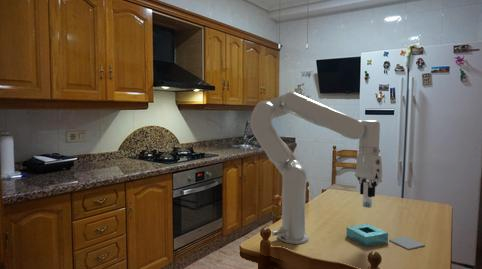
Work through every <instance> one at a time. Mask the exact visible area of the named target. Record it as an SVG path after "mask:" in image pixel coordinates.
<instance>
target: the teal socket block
mask: <svg viewBox="0 0 482 269" xmlns="http://www.w3.org/2000/svg"><path fill="white" fill-rule="evenodd" d="M345 236H346V238H348V239H351V240H353V241H354V242H356V243H357V244H359V245H361V246H363V247H365V248H369V247H373V246H378V245H382V244H388V243H389V232H387V231H385V230H383V229H380V228H378V227H376V226H374V225H371V224H369V223H364V224H363V223H362V224H357V225H352V226H346V235H345Z"/></svg>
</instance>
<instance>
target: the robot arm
mask: <svg viewBox="0 0 482 269" xmlns="http://www.w3.org/2000/svg"><path fill="white" fill-rule="evenodd" d="M288 114H291V115H293V116H296V117H297V118H299V119H302V120H305V122H309V123H311V124H313V125H316V126H318V127H321V128H326V129H327V130H330V131H332V132H335V133H337V134H340V135H341V137H344V138H347V139H350V140H358V153H357V157H356V166H355V173H354V176H355V177H356V178H357V180H358V183H359V185H360V186H359V187H360V188H359V195H363V182H364V181H369V187H368V197H372V198H374V197H376V188H377V186H378V185H379V184H382V183H383V180H382V178H383V163H382V156H381V154H380V153H381V149H380V136H381V135H380V133H381V128H380V127H381V123H380V122H379V121H378V120H375V119H374V120H372V119H367V120H363V119H362V120H358V119H357V118H356V119H355V118H354V117H352V116H350V115H347V114H345V113H342V112H340V111H337V110H336V109H333V108H331V107H328V106H327V105H324V104H322V103H320V102H318V101H315V100H313V99H311V98H308V97H307V96H304V95H302V94H299V93H298V92H294V91H289V92H286V93H285V94H282V95H280V96H277V97H274V98H271V99H270V98H269V99H267V100H261V101H259V102H258V103H257V104H256V105H255V106H254V108H253V111H252V112H251V116H250V128H251V132H252V134H253V136H254V137H255V139H256V141H257V143H259V146H260V147H261V148H262V149H263V151H264V152H265V154H266V156H267V158H268V159H269V161H270V162H271V163H272V164H273V165H274V166H275V167H276V169H277V170H278V172H279V173H280V174H281V176H282V186H281V187H282V188H281V189H282V190H281V191H282V192H281V202H282V203H281V204H282V205H281V208H282V209H281V211H282V212H281V221H282V222H281V226H280V227H279V229H277V230H272V231H271V235H272V237H276V236H277V238H278V239H279V241H282V242H284V243H286V244H291V245H292V244H293V245H302V244H305V243H307V242H308V241H309V240H310V238H309V237H310V235H309V234H308V233H307V232H306V189H307V174H306V170H305V168H304V167H303V166H302V164H301V163H300V161H299V160H298V159H297V158H296V156H295V154H294V153H293V151H292V150H291V149H290V147H289V146H288V145H287V143H286V142H284V141H283V140H282V138H281V136H280V135H279V134H278V131H276V129H275V128H274V126H273V122H272V121H273V120H274V119H276V118H280V117H282V116H285V115H288ZM372 182H373V183H372Z"/></svg>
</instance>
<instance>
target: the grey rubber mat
mask: <svg viewBox="0 0 482 269" xmlns="http://www.w3.org/2000/svg"><path fill="white" fill-rule="evenodd" d="M388 242H391V243H393V244H395V245H398V246H400V247H401V248H403V249H405V250H407V251H409V250H414V249H418V248H422V247H425V246H426V244H424V243H422V242H419V241H417V240H415V239H414V238H413V239H412V238H410V237H409V236H407V235H404V236H400V237H395V238H391V239H389V238H388Z"/></svg>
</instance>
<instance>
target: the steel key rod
mask: <svg viewBox="0 0 482 269" xmlns="http://www.w3.org/2000/svg"><path fill="white" fill-rule="evenodd" d="M372 183H373V181H372ZM368 187H369V180H367V181H364V182H363V194H362V207H364V208H367V209H368V208H372V207H373V197H368Z"/></svg>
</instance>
